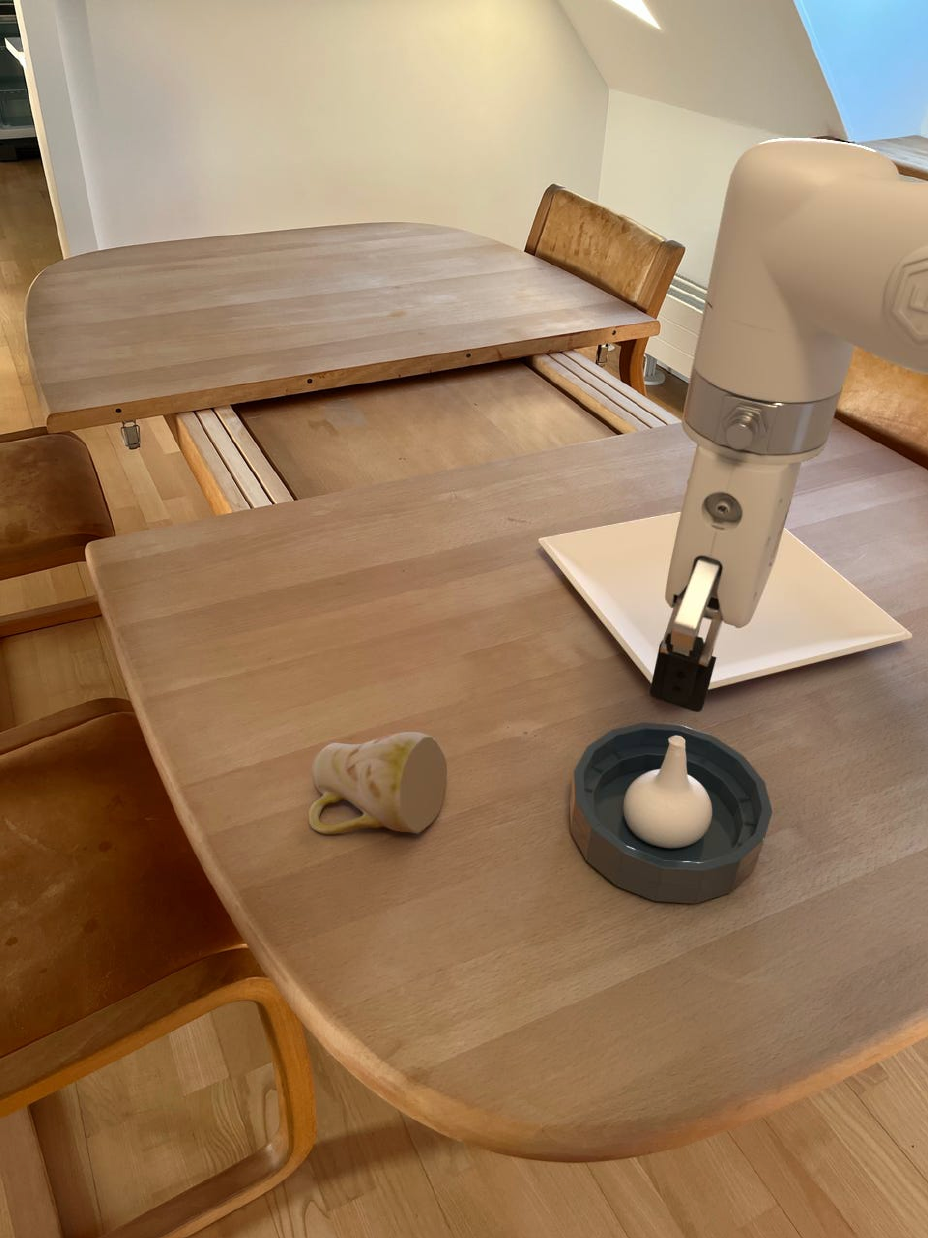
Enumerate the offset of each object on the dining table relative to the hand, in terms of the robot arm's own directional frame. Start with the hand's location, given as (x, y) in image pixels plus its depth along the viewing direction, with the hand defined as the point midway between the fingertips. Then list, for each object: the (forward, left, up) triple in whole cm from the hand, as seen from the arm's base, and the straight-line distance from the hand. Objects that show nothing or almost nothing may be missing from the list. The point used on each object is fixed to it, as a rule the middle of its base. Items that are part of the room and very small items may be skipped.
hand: (696, 655), depth 59 cm
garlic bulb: (0, 0, -16) cm, 16 cm away
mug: (+20, +8, -17) cm, 27 cm away
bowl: (0, 0, -16) cm, 16 cm away
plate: (+4, -30, -17) cm, 34 cm away
